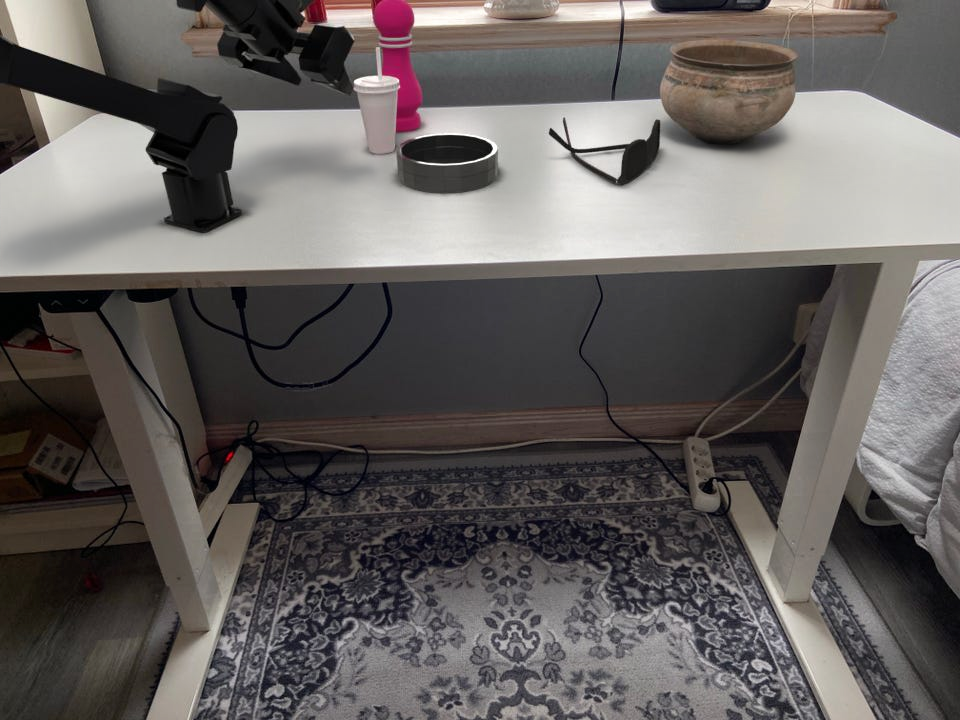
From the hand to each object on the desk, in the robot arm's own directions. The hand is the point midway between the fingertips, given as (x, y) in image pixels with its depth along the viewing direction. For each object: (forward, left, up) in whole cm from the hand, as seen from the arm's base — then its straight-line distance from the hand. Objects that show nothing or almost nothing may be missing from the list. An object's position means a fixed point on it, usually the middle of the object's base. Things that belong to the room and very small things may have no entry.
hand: (324, 87), depth 96 cm
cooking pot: (+38, -43, -11) cm, 58 cm away
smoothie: (+10, -1, -11) cm, 15 cm away
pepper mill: (+21, +3, -11) cm, 24 cm away
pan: (+5, -15, -11) cm, 19 cm away
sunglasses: (+20, -31, -11) cm, 38 cm away
